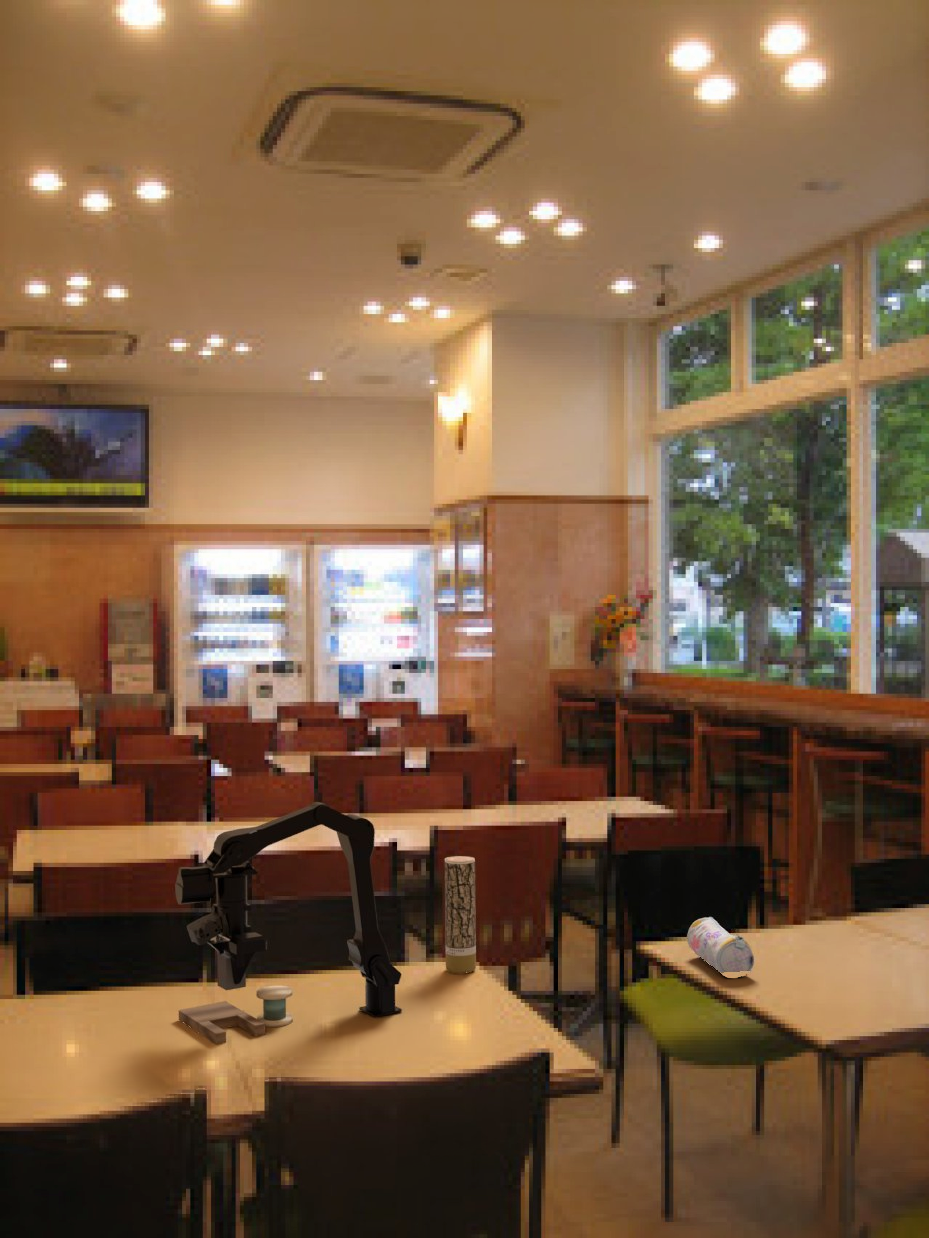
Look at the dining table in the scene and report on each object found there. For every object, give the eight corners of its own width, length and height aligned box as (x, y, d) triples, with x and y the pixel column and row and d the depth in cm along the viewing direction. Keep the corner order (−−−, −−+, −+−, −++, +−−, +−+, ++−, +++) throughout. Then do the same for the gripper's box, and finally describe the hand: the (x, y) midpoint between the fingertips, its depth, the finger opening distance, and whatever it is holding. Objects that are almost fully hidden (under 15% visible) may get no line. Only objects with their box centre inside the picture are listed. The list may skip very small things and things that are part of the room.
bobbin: (298, 1022, 250) (298, 991, 250) (266, 1029, 246) (266, 998, 246) (282, 1013, 256) (282, 983, 256) (250, 1020, 252) (250, 989, 252)
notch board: (265, 1034, 243) (265, 1023, 243) (216, 1044, 237) (216, 1033, 237) (225, 1010, 258) (225, 1001, 258) (178, 1020, 252) (178, 1010, 252)
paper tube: (472, 975, 282) (471, 862, 282) (442, 974, 283) (441, 861, 283) (478, 967, 289) (477, 856, 289) (449, 965, 290) (448, 855, 290)
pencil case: (756, 979, 277) (755, 936, 277) (718, 982, 275) (717, 938, 275) (720, 955, 298) (720, 914, 298) (684, 957, 296) (684, 916, 296)
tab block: (245, 986, 243) (245, 953, 243) (226, 990, 240) (226, 956, 240) (236, 982, 246) (236, 949, 246) (217, 985, 244) (217, 952, 244)
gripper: (173, 896, 247) (173, 977, 247) (212, 913, 231) (212, 1000, 231) (226, 889, 253) (227, 967, 253) (268, 905, 237) (268, 989, 237)
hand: (232, 981), depth 243 cm, fingers closed on tab block, 4 cm apart
